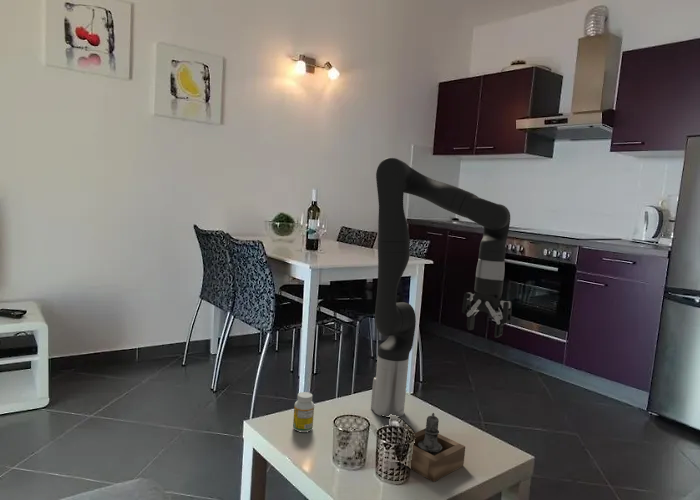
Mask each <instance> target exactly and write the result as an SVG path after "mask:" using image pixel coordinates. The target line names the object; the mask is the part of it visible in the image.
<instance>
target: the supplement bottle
mask: <svg viewBox="0 0 700 500" xmlns="http://www.w3.org/2000/svg"><path fill="white" fill-rule="evenodd" d="M296 398H297V400H296V401H295V402H294V408H293V422H292V423H293V424H292V429H293V428H294V429H295V430H297V431H301V432H307V431H310V430H311V429H312V428H313V427H314V415H315V403H314V402H313V394H312V393H311V392H308V391H303V392H302V391H301V392H298V393H297V397H296ZM294 429H293V430H294ZM295 430H294V431H295ZM312 430H313V429H312ZM312 430H311V431H312ZM311 431H310V432H311ZM307 433H308V432H307Z"/></svg>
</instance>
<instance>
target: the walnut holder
mask: <svg viewBox="0 0 700 500" xmlns="http://www.w3.org/2000/svg"><path fill="white" fill-rule="evenodd" d="M424 429H425V428H424ZM424 429H421V430H418V431H415V432H414V434H415V438H416V440H415V443H414V445H413V454H412V460H411V469H410V470H411V471H413V472H415V473H417V474H419V475H420V476H422V477H424V478H426V479H428V480H429V481H430V482H432V483H435V482H436V481H438V480H440V479H442V478H443V477H445V476H447V475H449V474H450V473H453V472H454V471H456V470H458V469H460V468H462V467H464V463H465V455H466V454H465V453H466V446H465V445H464V444H461V443H460V442H457V441H455V440H452V439H450V438H448V437H447V436H444V435H442V434H441V433H438V436H437V442H438V443H439V444H441V446H442V450H441V452H440V453H439V454H437V455H435V456H434V455H432V454H430V453H428V452H426V451H424V450H422V449H420V448H419V446H418V443H419V442H420V441H422V440H424V438H425V431H424Z"/></svg>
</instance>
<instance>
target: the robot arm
mask: <svg viewBox="0 0 700 500" xmlns="http://www.w3.org/2000/svg"><path fill="white" fill-rule="evenodd" d="M375 179H376V190H377V191H376V192H377V199H378V220H377V221H378V222H377V226H378V229H377V231H378V232H377V233H378V235H377V262H378V263H377V264H378V265H377V288H376V289H377V290H376V299H375V308H374V309H375V310H374V311H375V312H374V320H375V321H374V322H375V327H376V329H377V332H378V333H379V334H380V335H382V336H385V337H386V336H387V337H388V338H387V339H386V340H384V341H383V342H382V343H380V344H379V345H378V349H377V359H376V360H377V361H376V371H375V372H376V375H375V377H373V379H372V390H371V401H370V402H371V404H370V410H372V412H374V414H375V415H377V416H379V417H382V416H381V415H384V416H389V415H390V414H392V415H396V416H399V417H398V418H400V417H401V418H402V417H403V416H404V414H405V403H406V394H407V393H406V392H407V385H408V384H407V381H408V371H409V361H410V359H409V358H410V353H411V351H412V349H413V345H414V339H415V331H416V322H417V321H416V318H417V317H416V312H415V309H414V307H413V306H412V305H411V304H410V303H409V302H404V301H402V302H401V301H400V302H397V292H398V287H399V283H400V281H401V278H402V276H403V275H404V272H405V270H406V268H407V266H408V264H409V260H410V248H411V247H410V233H409V232H410V231H409V226H408V222H407V219H406V214H405V208H404V196H405V195H404V194H408V195H412V196H416V197H418V198H421V199H423V200H426V201H428V202H430V203H432V204H433V205H436V206H438V207H439V208H442V209H443V210H446V211H448V212H451V213H453V214H455V215H457V216H460V217H463V218H466V219H468V220H471V221H472V222H474V223H476V224H478V225H479V226H481V227H483V234H482V239H481V241H480V244H479V248H478V251H479V252H478V261H477V265H476V270H475V279H474V293H473V292H471V291H470V292H464V294H463V299H462V306H461V313H462V314H465V315H466V318H467V319H466V328H467V330H468V331H472V330H474V329H475V323H476V322H475V321H476V315H477V314H478V312H480V313H481V312H484V313H486V314H490V315H491V317H492V318H493V319H494V321H495V327H494V334H493V335H494V337H493V338H497V339H498V338H500V337H502V336H503V333H504V331H503V330H504V325H506V324H510V323H511V322H512V311H513V310H512V309H513V308H512V306H513V303H512V300H508V301H506V300H503V299H502V294H503V289H504V279H505V270H506V269H505V265H506V264H505V261H506V252H507V239H508V235H509V230H510V223H511V213H510V210H509V209H508V207H507V206H506V205H504V204H500V203H496V202H493V201H491V200H487V199H485V198H482V197H479V196H477V194H475V193H472V192H470V191H468V190H466V189H463V188H460V187H458V186H455V185H452V184H448V183H445V182H442V181H440V180H439V181H438V180H436V179H433V178H431V177H428V176H427V175H424V174H422V173H420V172H419V171H417V170H416V169H414V168H413V167H411V166H409V164H407V162H404V161H403V160H401V159H399V158H397V157H386V158H384V159H383V160H382V161H381V162H380V163H379V164H378V166H377V169H376V172H375ZM472 301H473V302H474V304H473V305H472ZM500 307H501V308H502V309H500Z"/></svg>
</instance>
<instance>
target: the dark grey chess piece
mask: <svg viewBox="0 0 700 500" xmlns="http://www.w3.org/2000/svg"><path fill="white" fill-rule="evenodd" d="M425 424H426V425H425V428H424V431H425V438H424V440H422V441H420V442H419V443H418V446H419V448H420V449H422V450H424V451H426V452H428V453H430V454H432V455H434V456H435V455H437V454H439V453H440V452H441V450H442V446H441V444H439V443H438V442H437V436H438V434H440V431H439V418H438V417H437V416H436V415H435V413H434V412H432V413H431V414H430V415H428V416H427V418H426V423H425Z"/></svg>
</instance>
